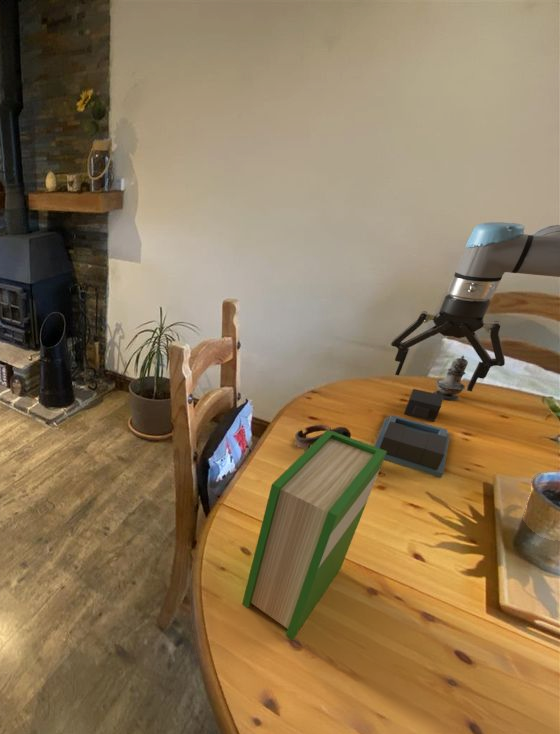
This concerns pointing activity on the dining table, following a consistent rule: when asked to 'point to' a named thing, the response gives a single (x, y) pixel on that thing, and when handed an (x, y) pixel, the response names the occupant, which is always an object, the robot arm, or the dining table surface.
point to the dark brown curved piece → (307, 442)
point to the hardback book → (310, 527)
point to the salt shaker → (452, 380)
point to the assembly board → (416, 428)
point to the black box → (423, 405)
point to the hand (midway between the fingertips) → (432, 380)
